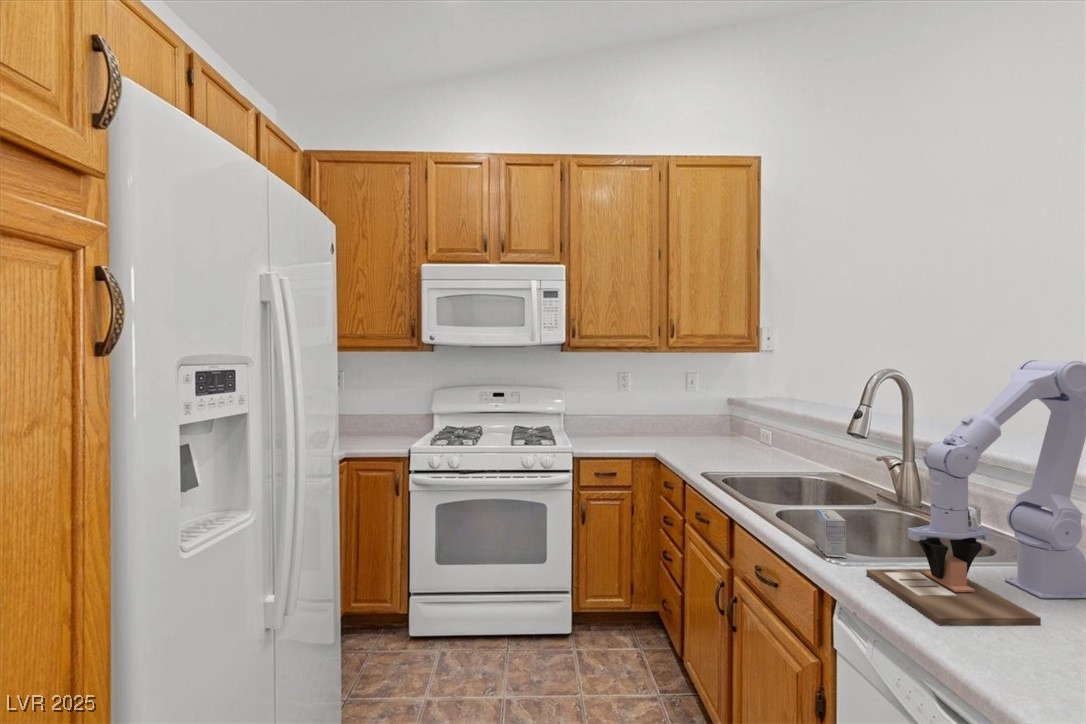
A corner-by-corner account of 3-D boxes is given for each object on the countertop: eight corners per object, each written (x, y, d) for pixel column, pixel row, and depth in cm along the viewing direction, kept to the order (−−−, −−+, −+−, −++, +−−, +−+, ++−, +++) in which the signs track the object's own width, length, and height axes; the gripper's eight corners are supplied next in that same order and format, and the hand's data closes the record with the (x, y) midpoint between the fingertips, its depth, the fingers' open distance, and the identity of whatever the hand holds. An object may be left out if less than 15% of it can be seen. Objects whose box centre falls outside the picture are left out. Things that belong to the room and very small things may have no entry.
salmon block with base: (942, 573, 106) (942, 549, 105) (974, 591, 98) (975, 566, 97) (924, 573, 106) (924, 550, 105) (955, 592, 98) (955, 566, 97)
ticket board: (949, 574, 109) (949, 567, 109) (1040, 624, 89) (1040, 616, 89) (866, 575, 109) (866, 568, 109) (939, 625, 89) (939, 616, 89)
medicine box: (846, 559, 117) (846, 520, 117) (825, 557, 118) (825, 519, 118) (834, 546, 125) (834, 509, 125) (814, 545, 126) (814, 508, 126)
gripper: (970, 500, 105) (969, 568, 106) (897, 500, 105) (896, 568, 106) (1000, 511, 98) (1000, 583, 98) (922, 511, 98) (922, 583, 99)
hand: (948, 576), depth 102 cm, fingers open, 4 cm apart
